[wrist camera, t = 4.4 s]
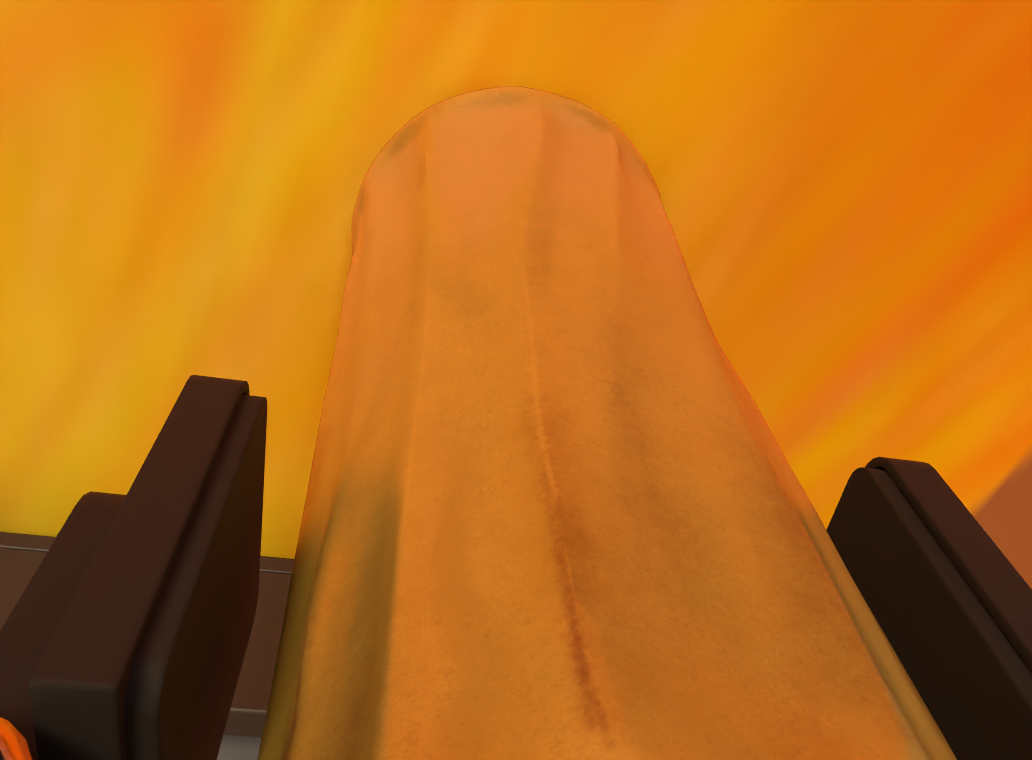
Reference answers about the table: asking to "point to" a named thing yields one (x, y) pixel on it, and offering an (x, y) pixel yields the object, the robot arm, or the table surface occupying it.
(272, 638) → the crate
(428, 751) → the vase
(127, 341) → the table surface
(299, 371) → the table surface
